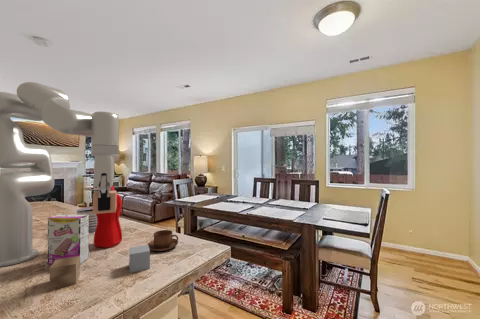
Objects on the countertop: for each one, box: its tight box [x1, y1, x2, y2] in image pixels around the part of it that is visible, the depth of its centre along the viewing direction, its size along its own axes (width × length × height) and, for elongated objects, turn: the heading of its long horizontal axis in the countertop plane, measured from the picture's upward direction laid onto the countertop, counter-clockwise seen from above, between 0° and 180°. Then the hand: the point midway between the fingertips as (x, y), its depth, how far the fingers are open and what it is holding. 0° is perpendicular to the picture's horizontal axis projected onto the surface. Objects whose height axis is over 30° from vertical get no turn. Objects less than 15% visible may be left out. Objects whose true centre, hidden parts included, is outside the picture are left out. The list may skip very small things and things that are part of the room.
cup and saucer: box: [147, 229, 179, 252], centre depth 91 cm, size 12×12×6 cm
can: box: [76, 206, 97, 234], centre depth 112 cm, size 11×11×12 cm
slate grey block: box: [128, 244, 151, 274], centre depth 75 cm, size 6×6×6 cm
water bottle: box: [93, 185, 123, 249], centre depth 94 cm, size 9×11×25 cm
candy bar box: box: [47, 213, 90, 266], centre depth 78 cm, size 11×5×16 cm, turn 92°
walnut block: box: [49, 256, 81, 291], centre depth 65 cm, size 6×6×6 cm
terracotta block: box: [92, 190, 117, 214], centre depth 70 cm, size 6×6×6 cm
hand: (105, 207), depth 70 cm, fingers closed on terracotta block, 6 cm apart
